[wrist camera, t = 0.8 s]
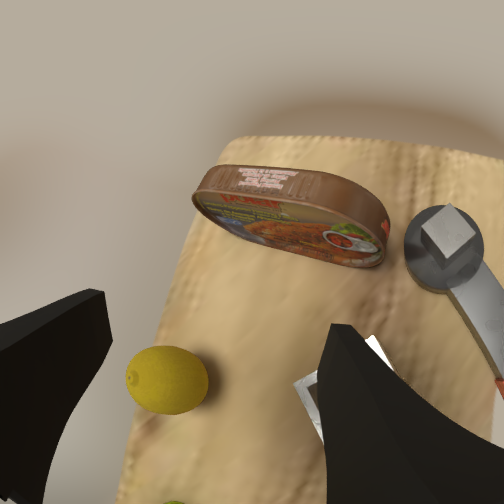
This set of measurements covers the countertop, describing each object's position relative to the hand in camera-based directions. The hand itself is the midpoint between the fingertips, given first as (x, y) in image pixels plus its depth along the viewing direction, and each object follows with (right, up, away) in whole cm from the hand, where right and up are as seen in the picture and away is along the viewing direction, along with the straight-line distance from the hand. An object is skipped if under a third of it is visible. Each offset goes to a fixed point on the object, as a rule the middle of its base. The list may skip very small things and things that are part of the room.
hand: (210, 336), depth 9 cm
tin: (+6, +4, +16) cm, 17 cm away
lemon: (-3, -9, +16) cm, 18 cm away
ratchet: (+18, -3, +6) cm, 19 cm away
